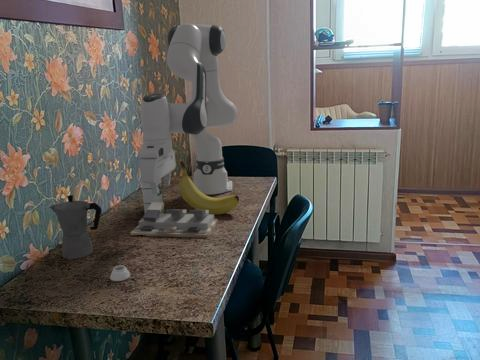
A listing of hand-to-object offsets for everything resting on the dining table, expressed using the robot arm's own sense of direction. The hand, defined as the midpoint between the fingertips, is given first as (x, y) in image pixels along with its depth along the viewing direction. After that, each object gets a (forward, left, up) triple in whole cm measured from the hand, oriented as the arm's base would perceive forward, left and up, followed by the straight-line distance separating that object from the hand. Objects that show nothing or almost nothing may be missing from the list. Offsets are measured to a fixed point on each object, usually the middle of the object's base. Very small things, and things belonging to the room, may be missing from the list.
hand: (161, 189), depth 139 cm
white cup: (+32, -1, -15) cm, 35 cm away
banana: (-21, +10, -15) cm, 28 cm away
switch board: (-5, +2, -15) cm, 16 cm away
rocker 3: (-6, +10, -11) cm, 16 cm away
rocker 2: (-6, +2, -11) cm, 13 cm away
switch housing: (-7, +2, -15) cm, 17 cm away
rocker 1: (-7, -6, -11) cm, 15 cm away
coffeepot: (+18, -20, -15) cm, 31 cm away
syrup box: (-19, -11, -15) cm, 27 cm away
